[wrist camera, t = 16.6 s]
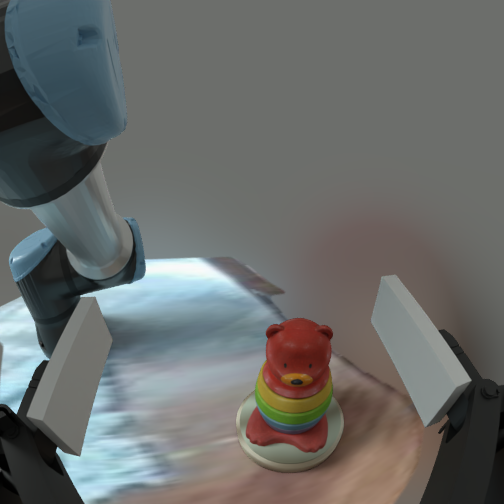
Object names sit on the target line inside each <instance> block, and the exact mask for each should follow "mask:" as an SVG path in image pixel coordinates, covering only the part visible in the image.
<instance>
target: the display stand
mask: <svg viewBox="0 0 504 504" xmlns="http://www.w3.org/2000/svg"><path fill="white" fill-rule="evenodd" d="M256 406H257V404H256V400H255V390H254V391H253V392H252V393H251V394H249V395H248V396H247V397H246V399H245V400H244V401H243V403H242V404H241V406H240V408H239V410H238V414H237V419H236V428H237V434H238V439H239V442H240V445H241V447H242V449H243V451H244V452H245V453H246V455H247V456H248V457H249V458H250V459H251V460H252V461H254V462H255V463H256V464H258V465H259V466H261V467H263V468H266V469H268V470H271V471H275V472H281V473H296V472H302V471H306V470H309V469H311V468H314V467H316V466H317V465H319V464H321V463H322V462H323V461H325V460H326V459H327V458H328V457H329V456H330V455H331V454H332V452H333V451H334V449H335V448H336V446H337V444H338V442H339V440H340V438H341V435H342V433H343V427H344V418H343V413H342V410H341V408H340V405H339V404H338V402H337V401H336V399H335V398H334V397H333V396H332V400H331V403H330V405H329V407H328V409H327V411H326V413H325V414H326V417H327V422H328V436H327V441H326V444H325V446H324V447H323V448H322V449H319V450H318V451H317V452H316V453H312V452H308V453H306V452H303V451H301V450H299V449H298V448H297V447H295V446H293V445H290V444H286V443H275V444H270V445H267V446H258V445H257V444H252V443H251V442H250V440H249V439H248V438H247V437H246V427H247V423H248V420H249V418H250V416H251V414H252V412H253V410H254V409H255V408H256Z"/></svg>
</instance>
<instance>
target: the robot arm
mask: <svg viewBox="0 0 504 504" xmlns="http://www.w3.org/2000/svg"><path fill="white" fill-rule="evenodd" d="M126 124H127V112H126V100H125V92H124V83H123V76H122V70H121V64H120V59H119V49H118V41H117V35H116V28H115V23H114V16H113V11H112V6H111V1H110V0H0V201H1V202H3V203H4V204H6V205H8V206H12V207H15V208H20V209H31V210H32V211H33V213H34V214H35V215H36V216H37V217H38V218H39V219H40V221H41V222H42V223H43V224H44V225H45V226H46V227H47V228H44V229H41V230H39V231H37V232H35V233H33V234H31V235H30V236H28V237H27V238H25V239H24V240H23V241H21V242H20V243H19V244H18V245H17V246H16V247H15V248H14V250H13V251H12V252H11V255H10V258H9V265H10V268H11V271H12V274H13V278H14V281H15V282H16V284H17V286H18V289H19V291H20V293H21V295H22V297H23V299H24V301H25V303H26V305H27V307H28V309H29V311H30V313H31V315H32V317H33V319H34V321H35V326H36V332H37V337H38V341H39V345H40V347H41V349H42V351H43V352H44V354H45V355H46V356H47V357H48V358H49V359H50V360H49V361H47V360H43V361H42V363H41V364H40V365H39V366H38V367H37V368H36V370H35V372H34V374H33V376H32V380H31V381H30V383H29V385H28V387H29V388H27V390H26V392H25V395H24V397H23V400H22V402H21V405H20V407H19V410H18V412H17V415H16V414H15V413H14V412H13V411H12V410H11V409H10V407H8V406H7V405H5V404H0V504H84V502H83V500H82V499H81V497H80V495H79V494H78V492H77V490H76V488H75V486H74V485H73V483H72V481H71V479H70V477H69V475H68V473H67V471H66V469H65V467H64V465H63V463H62V461H61V459H60V457H59V456H58V454H57V453H56V449H57V447H59V448H60V449H61V450H62V451H63V452H64V453H68V454H72V455H76V456H80V455H81V451H82V446H83V442H84V438H85V433H86V429H87V425H88V421H89V417H90V414H91V410H92V406H93V403H94V399H95V395H96V392H97V389H98V385H99V382H100V379H101V375H102V372H103V369H104V366H105V363H106V359H107V356H108V353H109V350H110V347H111V344H112V341H113V339H112V337H111V334H110V332H109V330H108V327H107V325H106V323H105V320H104V318H103V315H102V313H101V310H100V308H99V305H98V303H97V300H96V297H80V295H83V294H87V293H91V292H95V291H99V290H103V289H107V288H111V287H115V286H119V285H123V284H131V283H133V282H134V281H137V280H140V279H142V278H143V277H144V275H145V271H146V265H145V260H144V259H145V256H144V250H143V243H142V238H141V234H140V230H139V227H138V224H137V222H136V220H135V219H134V218H122V217H121V216H119V215H118V214H116V213H115V211H114V207H113V204H112V201H111V198H110V194H109V191H108V187H107V184H106V180H105V177H104V173H103V170H102V166H101V162H100V161H101V159H102V157H103V155H104V153H105V151H106V148H107V145H108V141H109V140H110V139H111V138H114V137H117V136H118V135H120V134H121V132H123V131H124V130H125V127H126ZM371 323H372V324H373V326H374V328H375V330H376V332H377V333H378V335H379V337H380V339H381V341H382V343H383V344H384V346H385V348H386V350H387V352H388V354H389V356H390V358H391V359H392V361H393V363H394V365H395V367H396V369H397V371H398V373H399V375H400V377H401V379H402V381H403V383H404V385H405V387H406V389H407V391H408V393H409V395H410V397H411V399H412V401H413V403H414V405H415V407H416V409H417V411H418V414H419V416H420V418H421V420H422V422H423V424H424V426H425V428H426V427H428V426H431V425H433V424H435V423H438V422H440V420H442V418H443V417H444V416H445V415H446V414H447V416H448V418H449V420H448V421H447V422H446V423H445V424H444V425H443V426H442V428H441V429H440V430H439V432H438V433H439V434H440V433H441V432H442V431H443V430H444V429H445V430H444V434H443V438H442V441H441V445H440V449H439V452H438V455H437V458H436V461H435V464H434V467H433V470H432V473H431V476H430V479H429V481H428V484H427V487H426V489H425V492H424V494H423V497H422V499H421V502H420V504H504V385H502V386H498V385H497V384H496V383H495V382H494V381H492V380H490V379H482V378H481V376H480V375H479V373H478V372H477V370H476V369H475V367H474V366H473V364H472V363H471V361H470V360H469V358H468V357H467V355H466V354H465V353H464V351H463V350H462V348H461V347H459V344H458V342H457V341H456V340H455V338H454V337H453V336H452V335H451V334H450V333H448V332H447V331H445V330H439V331H438V330H437V329H436V327H435V326H434V324H433V323H432V322H431V320H430V319H429V317H428V316H427V315H426V313H425V312H424V311H423V309H422V308H421V307H420V305H419V304H418V303H417V301H416V300H415V299H414V298H413V296H412V295H411V294H410V292H409V291H408V290H407V289H406V288H405V286H404V285H403V284H402V282H401V281H400V280H399V279H398V277H397V276H396V275H390V276H382V278H381V283H380V287H379V291H378V295H377V299H376V303H375V307H374V310H373V314H372V318H371Z"/></svg>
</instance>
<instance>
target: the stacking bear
mask: <svg viewBox="0 0 504 504" xmlns="http://www.w3.org/2000/svg"><path fill="white" fill-rule="evenodd" d="M266 336H267V338H268V340H267V344H266V358H267V360H266V361H265V362H264V364H263V365H262V368H261V370H260V373H259V376H258V379H257V382H256V387H255V400H256V404H257V406H256V408H255V409H254V410H253V412H252V414H251V416H250V418H249V420H248V423H247V427H246V437H247V438H248V439H249V440H250V442H251V443H252V444H257V445H258V446H267V445H270V444H275V443H286V444H290V445H293V446H295V447H297V448H298V449H299V450H301V451H303V452H306V453H308V452H312V453H316V452H317V451H318V450H319V449H322V448H323V447H324V446H325V444H326V441H327V436H328V422H327V417H326V414H325V413H326V411H327V409H328V407H329V405H330V403H331V400H332V393H333V385H332V377H331V372H330V368H329V366H328V365H329V362H330V358H331V344H330V339H331V338H332V336H333V332H332V330H331V328H329V327H328V326H325V325H321V326H319V325H318V324H316V323H315V322H313V321H311V320H308V319H304V318H294V319H290V320H287V321H285V322H283V323H281V324H279V325H278V324H273V325H271V326H270V327H269V328H268V329H267V330H266Z"/></svg>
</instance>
